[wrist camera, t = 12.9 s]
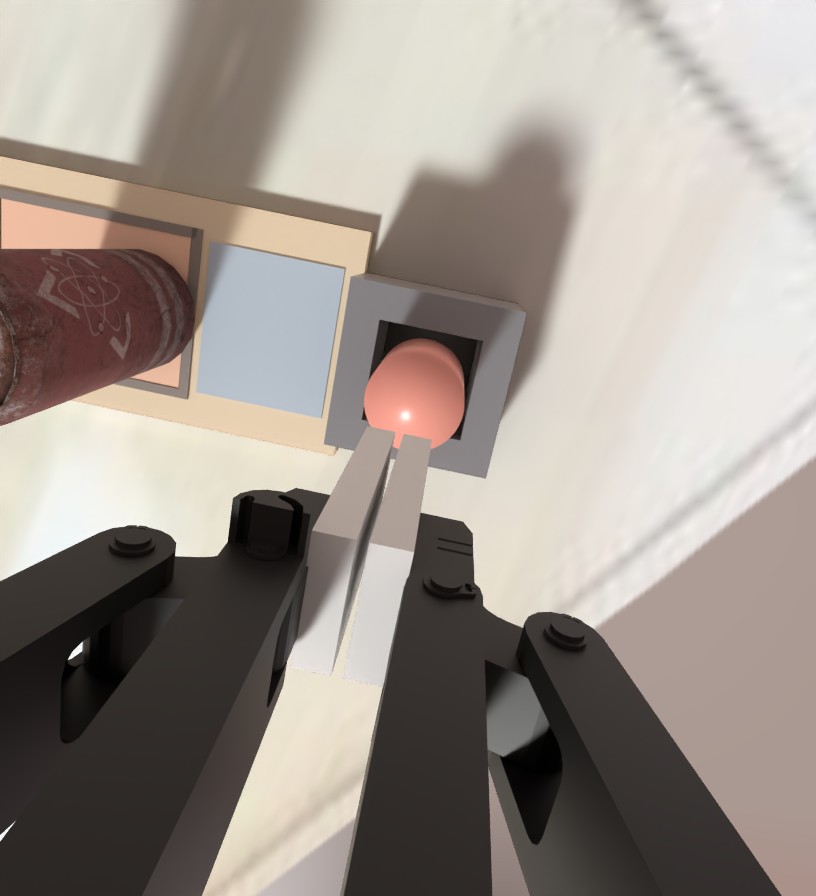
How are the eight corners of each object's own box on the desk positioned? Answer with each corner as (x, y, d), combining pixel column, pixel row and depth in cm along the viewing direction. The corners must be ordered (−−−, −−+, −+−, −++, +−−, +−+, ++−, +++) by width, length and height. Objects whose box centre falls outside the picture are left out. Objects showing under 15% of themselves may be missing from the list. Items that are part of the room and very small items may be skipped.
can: (93, 229, 33) (-160, 216, 20) (210, 272, 33) (37, 288, 20) (73, 341, 35) (-170, 398, 22) (184, 381, 35) (9, 463, 22)
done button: (371, 413, 31) (356, 440, 26) (386, 329, 29) (373, 344, 25) (453, 430, 30) (452, 460, 26) (472, 347, 29) (474, 365, 25)
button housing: (341, 418, 36) (323, 444, 31) (366, 272, 34) (350, 276, 29) (482, 448, 36) (485, 478, 31) (517, 303, 33) (526, 312, 29)
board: (-39, 372, 37) (-51, 375, 36) (-43, 147, 33) (-58, 144, 32) (336, 451, 37) (333, 456, 36) (373, 232, 33) (370, 232, 32)
